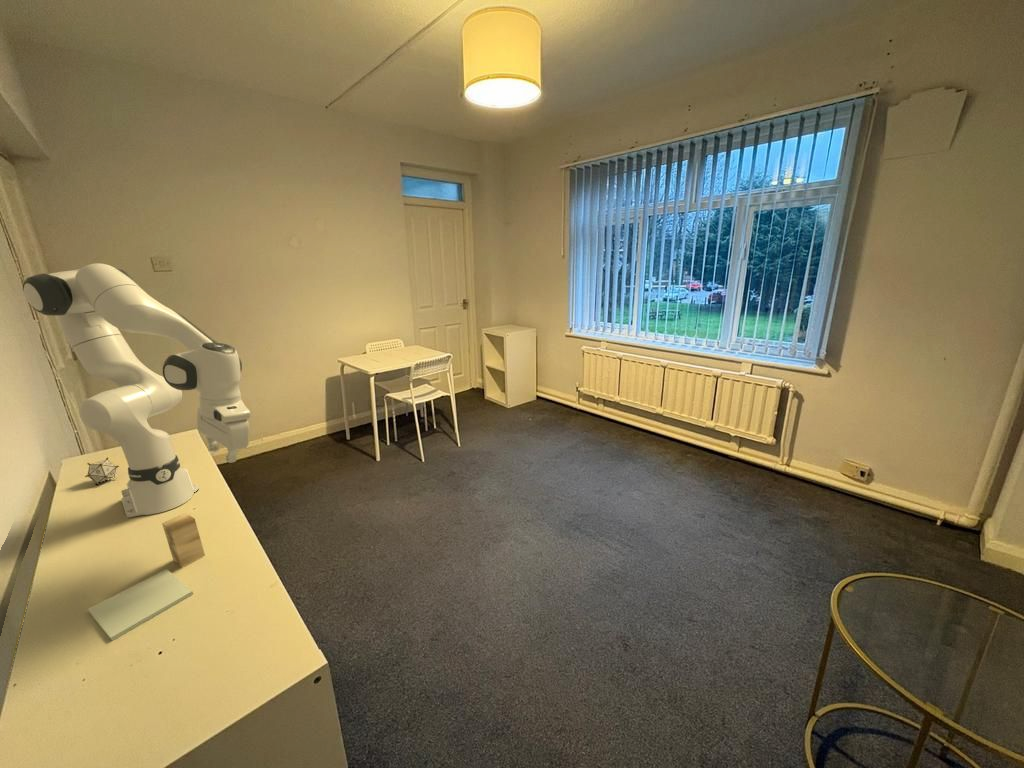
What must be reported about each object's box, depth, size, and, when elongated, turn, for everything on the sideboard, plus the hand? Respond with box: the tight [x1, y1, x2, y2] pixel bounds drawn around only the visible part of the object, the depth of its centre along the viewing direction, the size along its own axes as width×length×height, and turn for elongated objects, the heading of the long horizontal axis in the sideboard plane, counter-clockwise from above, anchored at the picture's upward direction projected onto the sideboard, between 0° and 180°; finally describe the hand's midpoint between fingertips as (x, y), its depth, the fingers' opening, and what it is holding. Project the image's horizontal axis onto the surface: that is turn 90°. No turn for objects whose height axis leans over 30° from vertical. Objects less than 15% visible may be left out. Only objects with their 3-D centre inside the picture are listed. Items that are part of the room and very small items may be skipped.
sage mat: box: [87, 568, 194, 641], centre depth 91 cm, size 14×14×1 cm
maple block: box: [161, 512, 206, 568], centre depth 103 cm, size 5×5×11 cm
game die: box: [84, 457, 120, 484], centre depth 144 cm, size 9×8×10 cm
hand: (222, 456), depth 109 cm, fingers open, 8 cm apart
